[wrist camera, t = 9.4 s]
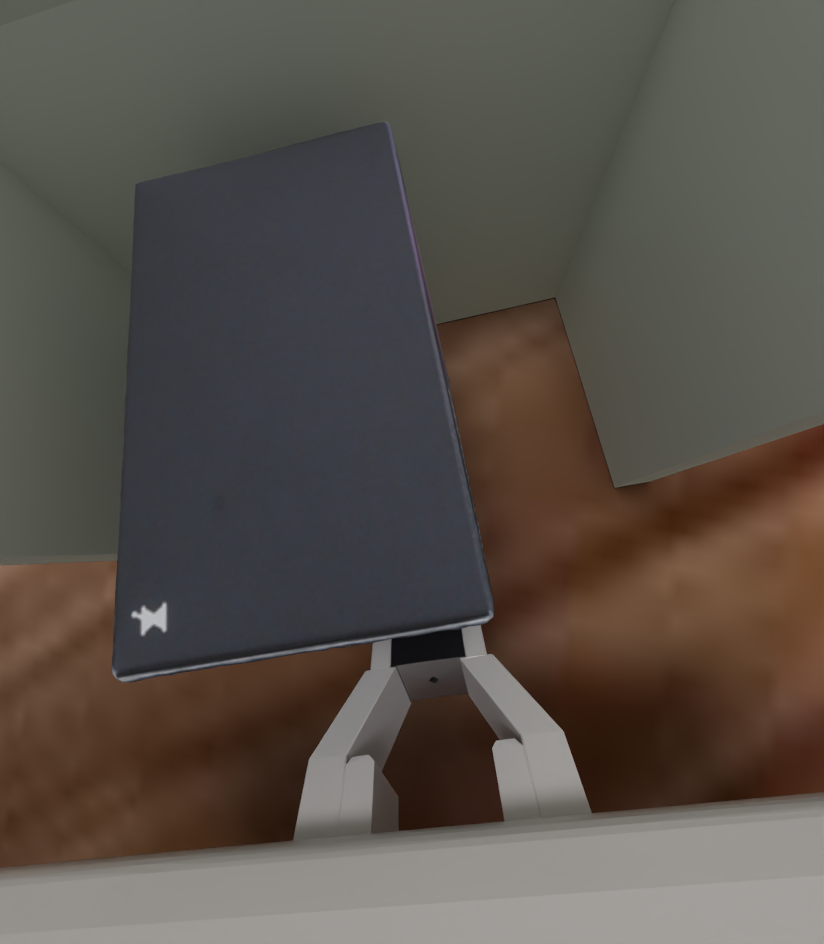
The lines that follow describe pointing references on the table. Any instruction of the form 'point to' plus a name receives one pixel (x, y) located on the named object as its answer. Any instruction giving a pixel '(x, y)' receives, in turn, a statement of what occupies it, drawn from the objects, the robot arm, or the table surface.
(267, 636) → the small box
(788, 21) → the rack
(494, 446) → the table surface
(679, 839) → the robot arm
